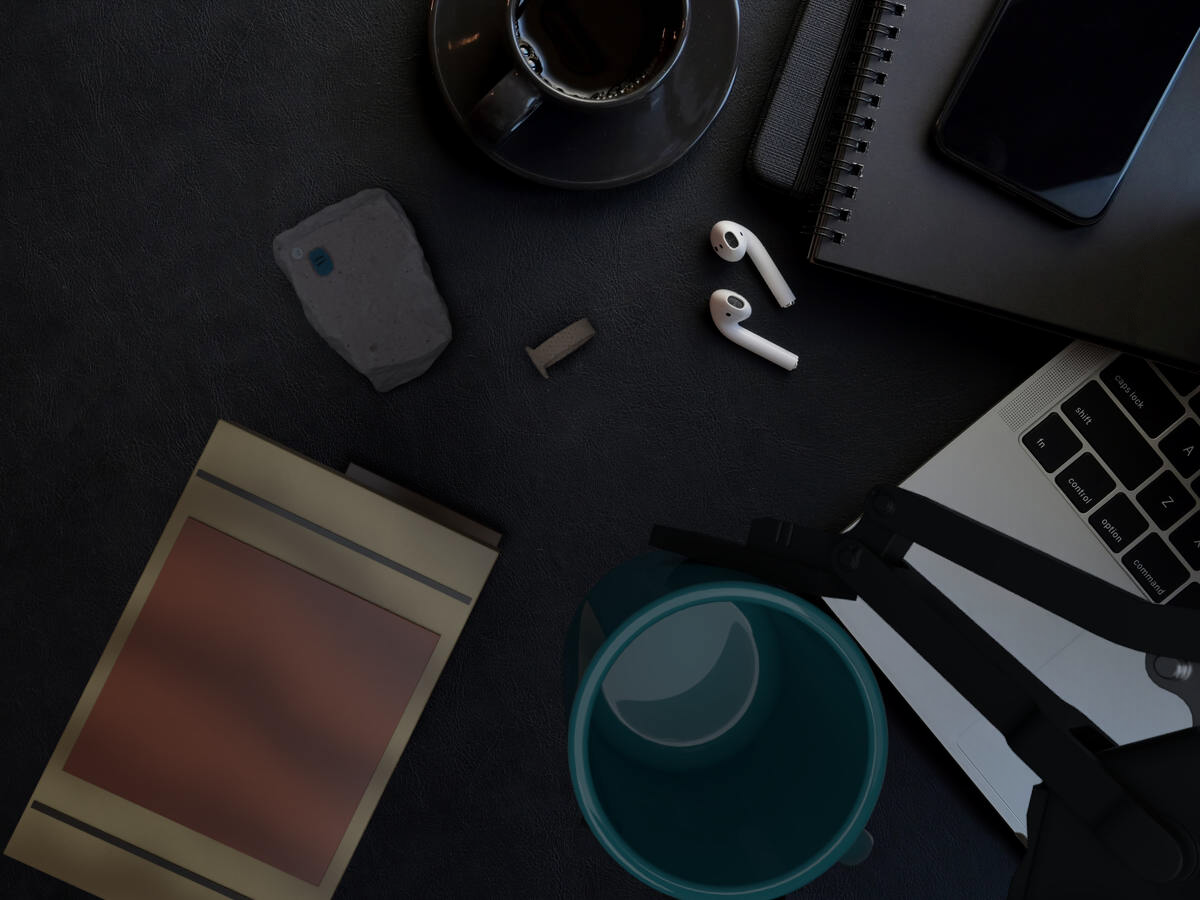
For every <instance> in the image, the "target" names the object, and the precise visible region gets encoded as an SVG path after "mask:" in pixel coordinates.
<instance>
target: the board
mask: <svg viewBox="0 0 1200 900" xmlns="http://www.w3.org/2000/svg"><path fill="white" fill-rule="evenodd" d="M501 552H502V549H501V548H500V547H498V546H497V547H496V546H494V545H492V544H489V543H487V542H485V541H483V540H481V539H479V538H477V537H475V536H473V535H471V534H469V533H466V532H464V531H462V530H460V529H458V528H456V527H454V526H452V525H450V524H448V523H446V522H443V521H441V520H439V519H437V518H435V517H433V516H431V515H429V514H427V513H425V512H423V511H421V510H418V509H416V508H414V507H412V506H410V505H408V504H406V503H404V502H402V501H400V500H398V499H395V498H393V497H391V496H389V495H387V494H385V493H383V492H381V491H379V490H377V489H375V488H372V487H370V486H368V485H366V484H364V483H362V482H360V481H358V480H356V479H354V478H352V477H349V476H347V475H345V473H343V472H342V471H339V470H337V469H334V468H333V467H330V466H329V465H326V464H324V463H322V462H321V461H318V460H316V459H314V458H312V457H310V456H308V455H306V454H304V453H301V452H300V451H298V450H295V449H293V448H291V447H288V446H287V445H286V444H285V445H284V444H283V443H280V442H279V441H277V440H274V439H272V438H270V437H269V436H266V435H264V434H262V433H259V432H258V431H255V430H254V429H251V428H249V427H247V426H245V425H243V424H241V423H238V422H236V421H235V420H232V419H225V418H224V419H222V418H219V419H218V421H217V423H216V425H215V427H214V429H213V431H212V433H211V435H210V437H209V439H208V441H207V443H206V445H205V447H204V449H203V450H202V453H201V455H200V457H199V459H198V461H197V463H196V465H195V467H194V469H193V471H192V473H191V474H190V477H189V479H188V481H187V483H186V485H185V487H184V489H183V491H182V493H181V496H180V497H179V499H178V501H177V503H176V505H175V507H174V509H173V511H172V513H171V515H170V517H169V519H168V521H167V523H166V525H165V527H164V529H163V531H162V534H161V535H160V537H159V539H158V542H157V544H156V545H155V548H154V550H153V551H152V554H151V555H150V557H149V560H148V561H147V563H146V565H145V567H144V570H143V572H142V574H141V576H140V577H139V580H138V582H137V584H136V585H135V588H134V590H133V591H132V594H131V596H130V598H129V600H128V602H127V603H126V605H125V608H124V610H123V612H122V614H121V616H120V618H119V620H118V622H117V623H116V626H115V628H114V630H113V632H112V634H111V635H110V638H109V640H108V642H107V644H106V646H105V648H104V650H103V652H102V654H101V656H100V658H99V659H98V662H97V664H96V666H95V667H94V670H93V671H92V674H91V676H90V678H89V680H88V682H87V684H86V686H85V688H84V690H83V692H82V694H81V696H80V698H79V700H78V703H77V704H76V705H75V708H74V710H73V712H72V714H71V716H70V718H69V720H68V722H67V724H66V726H65V728H64V730H63V732H62V734H61V737H60V739H58V743H57V744H56V746H55V748H54V751H53V752H52V754H51V756H50V759H49V761H48V762H47V764H46V767H45V768H44V770H43V772H42V775H41V777H40V779H39V781H38V782H37V784H36V787H35V788H34V791H33V793H32V794H31V797H30V798H29V801H28V803H27V805H26V806H25V809H24V810H23V813H22V815H21V817H20V819H19V821H18V823H17V825H16V827H15V828H14V831H13V833H12V835H11V837H10V838H9V840H8V842H7V846H6V847H5V848H4V851H3V855H5V856H8V857H9V858H12V859H14V860H16V861H18V862H21V863H23V864H24V865H27V866H29V867H31V868H34V869H35V870H38V871H40V872H42V873H45V874H47V875H49V876H52V877H53V878H56V879H58V880H60V881H63V882H65V883H67V884H69V885H71V886H74V887H76V888H78V889H80V890H82V891H84V892H86V893H89V894H91V895H93V896H96V897H98V898H100V899H103V900H332V899H333V897H334V895H335V893H336V892H337V889H338V887H339V885H340V883H341V882H342V881H341V880H342V878H343V876H344V874H345V872H346V870H347V868H348V866H349V864H350V862H351V860H352V858H353V856H354V854H355V852H356V850H357V848H358V846H359V843H361V839H362V837H363V835H364V834H365V831H366V829H367V826H368V825H369V823H370V821H371V819H372V817H373V815H374V813H375V812H376V809H377V806H378V805H379V803H380V800H381V798H382V797H383V794H384V792H385V790H386V788H387V786H388V784H389V782H390V780H391V778H392V776H393V774H394V772H395V769H396V768H397V765H398V763H399V762H400V760H401V757H402V755H403V753H404V751H405V749H406V747H407V745H408V743H409V741H410V739H411V737H412V735H413V734H414V733H413V732H414V731H415V728H416V727H417V725H418V723H419V720H420V718H421V716H422V714H423V713H424V710H425V708H426V706H427V704H428V702H429V701H430V697H431V696H432V694H433V693H434V690H435V687H436V685H437V683H438V681H439V679H440V677H441V676H442V673H443V672H444V669H445V667H446V665H447V663H448V661H449V659H450V656H451V654H452V653H453V650H454V649H455V646H456V644H457V642H458V641H459V638H460V636H461V634H462V632H463V630H464V628H465V626H466V623H467V622H468V620H469V618H470V615H471V614H472V611H473V609H474V607H475V605H476V603H477V601H478V599H479V597H480V595H481V593H482V591H483V589H484V587H485V585H486V583H487V581H488V579H489V577H490V574H491V572H492V570H493V568H494V567H495V564H496V562H497V560H498V558H499V555H500V553H501Z"/></svg>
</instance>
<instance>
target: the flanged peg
mask: <svg viewBox="0 0 1200 900" xmlns="http://www.w3.org/2000/svg"><path fill="white" fill-rule="evenodd" d="M594 336H596V330H595V329H594V328H593V326H592V324H591V323H590V321H589V320H588V319H587V318H585V317H584V318H581V319H579V320H577V321H575V322H574V323H571V324H570V325H568V326H567V327H565V328H563V329H561V330H559V332H557V333H555V334H554V335H553V336H551V337H549V338H548V339H546V340H545V341H544V342H543V343H541V344H540V345H538V346H537V347H536V348H534V349H533V348H532V347H530V346H528V345H527V346H525V347H524V349H525V352H526V354H528V356H529V358H530V360H531V361H532V362H533V364H534V366H535V367H536V368H537V370H538V372H539V373H540V374H541V376H542V377H543V378H545V379H549V375H548V373H547V370H546V369H547V368H548V367H550V366H552V365H553V364H555V363H557V362H559V361H560V360H562V359H564V358H565V357H566V356H568V355H569V354H571V353H573V352H574V351H575V350H577V349H578V348H579V347H581V346H582V345H584V344H585V343H587V342H588V341H589V340H590V339H592V338H593V337H594Z"/></svg>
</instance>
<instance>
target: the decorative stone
mask: <svg viewBox="0 0 1200 900" xmlns="http://www.w3.org/2000/svg"><path fill="white" fill-rule="evenodd" d="M416 233H417V232H416V229H415V228H414V225H413V224H412V222H411V220H410V219H409V218H408V217H407V215H406V211H405V210H404V209H403V207H402V205H401V203H399V201H398V200H397V199H396V198H395V197H393V195H392V194H391V193H390V192H389V191H388V190H385V189H382V188H380V187H374V188H365V189H363V190H361V191H358V192H357V193H355V195H351V196H349V197H347V198H344V199H342V200H341V201H340V202H336V203H333V204H329V205H328V206H326V207H324V208H322V209H321V210H319V211H317V212H316V213H313V214H312V215H310V216H308V217H306V218H304V219H302V220H301V221H300V222H298V223H297V224H296V225H295V226H294V227H292V228H289V229H286V230H284V231H282V232H280V233H279V234H277V235H276V236H275V237H274V239H273V241H272V252H273V257H274V260H275V264H276V265H277V266H278V267H279V269H280V270H281V272H282V273H283V274H284V276H285V278H287V280H288V281H289V282H290V284H291V285H292V287H293V289H294V290H295V295H296V296H297V298H298V300H299V302H300V303H301V307H302V309H303V313H304V316H305V318H306V320H307V321H308V323H309V325H311V326H312V328H313V329H314V331H315V332H316V333H317V334H319V336H320V337H321V339H323V340H324V341H325V342H326V343H327V344H328V346H329V348H330V349H332V350H334V351H335V352H336V353H337V354H338V355H339V356H341V357H342V358H343V359H344V360H345V361H346V362H347V363H348V364H349V365H350V366H351V367H352V368H353V369H355V370H356V371H357V372H359V373H361V374H362V375H364V376H365V377H366V378H368V379H369V381H370V382H371V384H372V386H373V388H374V389H375V390H376V391H377V392H380V393H387V392H390V391H391V390H393V389H394V388H396V387H398V386H399V385H403V384H405V383H408V382H410V381H412V380H414V379H416V378H418V377H420V376H422V375H423V374H424V373H425V372H426V371H428V370H429V369H430V367H432V365H433V363H434V362H435V360H437V358H439V356H440V355H441V354H442V353H443V352H444V351H445V349H446V348H447V347H448V345H449V343H451V341H452V340H453V327H452V324H451V320H450V316H449V314H450V313H449V309H448V306H447V304H446V302H445V301H444V298H443V297H442V295H441V294H440V293H439V290H438V287H437V285H436V283H435V280H434V277H433V274H432V270H431V268H430V265H429V263H428V261H427V260H426V258H425V255H424V249H423V248H422V246H421V244H420V243H419V240H418V237H417V234H416Z"/></svg>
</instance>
